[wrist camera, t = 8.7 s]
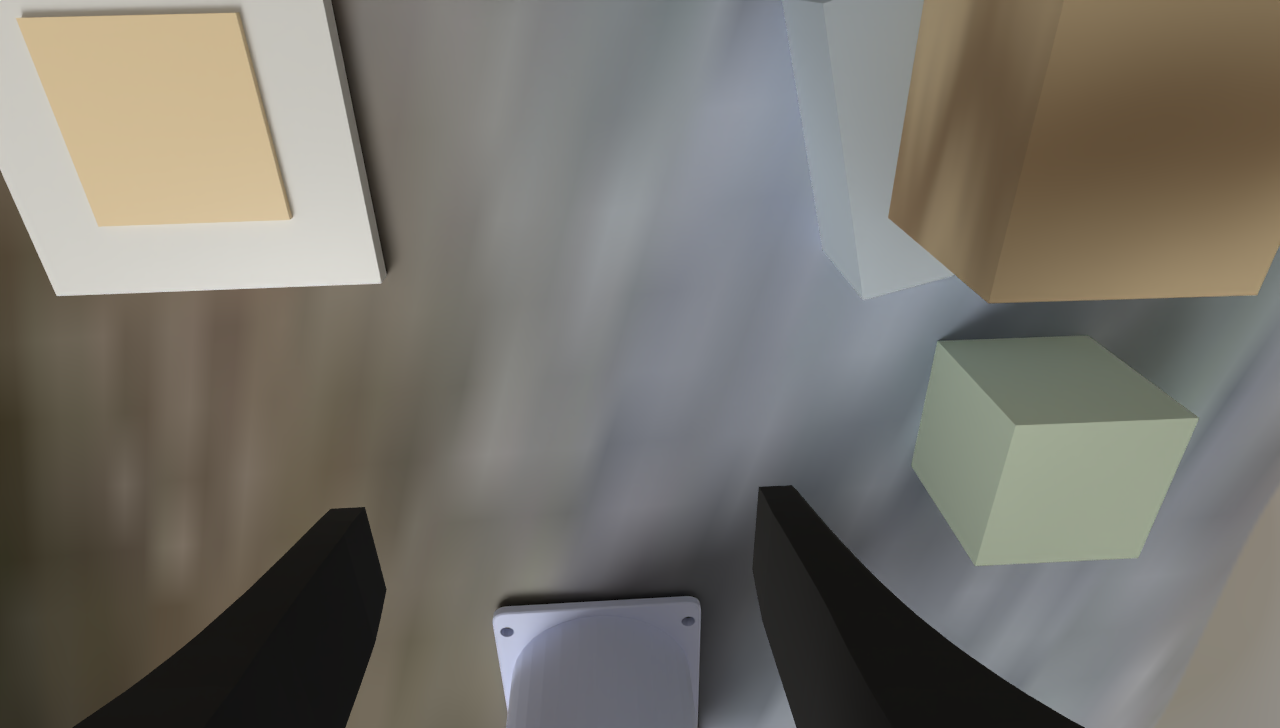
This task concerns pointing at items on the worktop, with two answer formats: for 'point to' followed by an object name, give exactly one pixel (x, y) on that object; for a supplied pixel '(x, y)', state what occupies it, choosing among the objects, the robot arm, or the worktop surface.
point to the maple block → (1094, 147)
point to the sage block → (1046, 449)
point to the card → (184, 145)
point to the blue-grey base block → (858, 133)
